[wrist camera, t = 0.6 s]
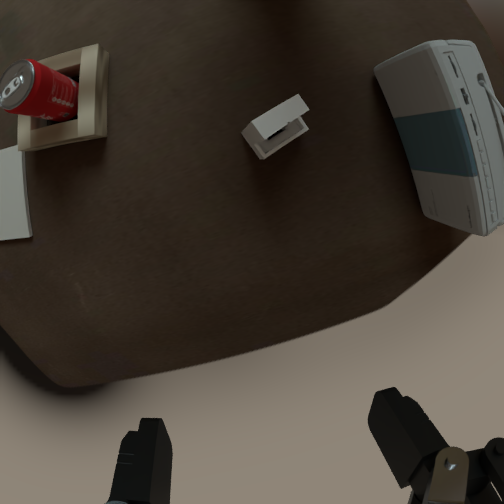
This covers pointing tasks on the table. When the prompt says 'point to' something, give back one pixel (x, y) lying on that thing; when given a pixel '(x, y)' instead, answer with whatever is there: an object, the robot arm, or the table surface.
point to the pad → (13, 195)
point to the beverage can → (38, 91)
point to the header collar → (89, 102)
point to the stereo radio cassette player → (449, 132)
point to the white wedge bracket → (276, 127)
